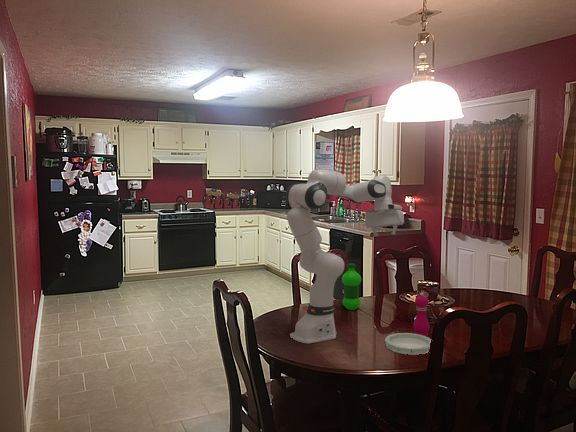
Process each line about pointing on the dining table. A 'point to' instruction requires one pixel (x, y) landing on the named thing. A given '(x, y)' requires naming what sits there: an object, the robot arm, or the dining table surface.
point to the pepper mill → (421, 316)
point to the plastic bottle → (351, 288)
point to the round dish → (408, 343)
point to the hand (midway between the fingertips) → (384, 235)
